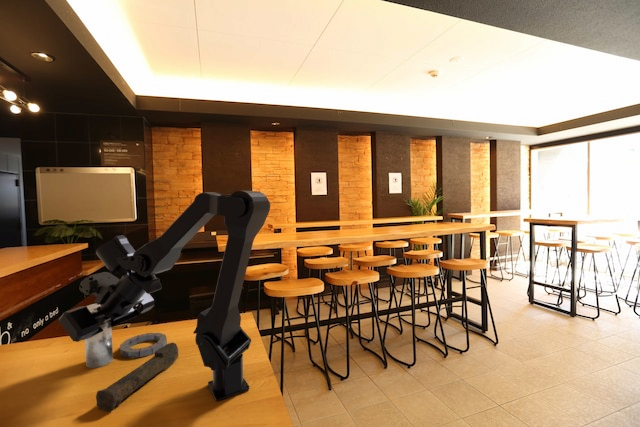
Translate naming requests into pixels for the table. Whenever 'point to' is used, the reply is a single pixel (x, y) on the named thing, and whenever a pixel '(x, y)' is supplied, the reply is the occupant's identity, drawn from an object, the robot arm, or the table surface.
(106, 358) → the silver metal cylinder
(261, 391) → the table surface
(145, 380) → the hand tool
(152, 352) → the ring
